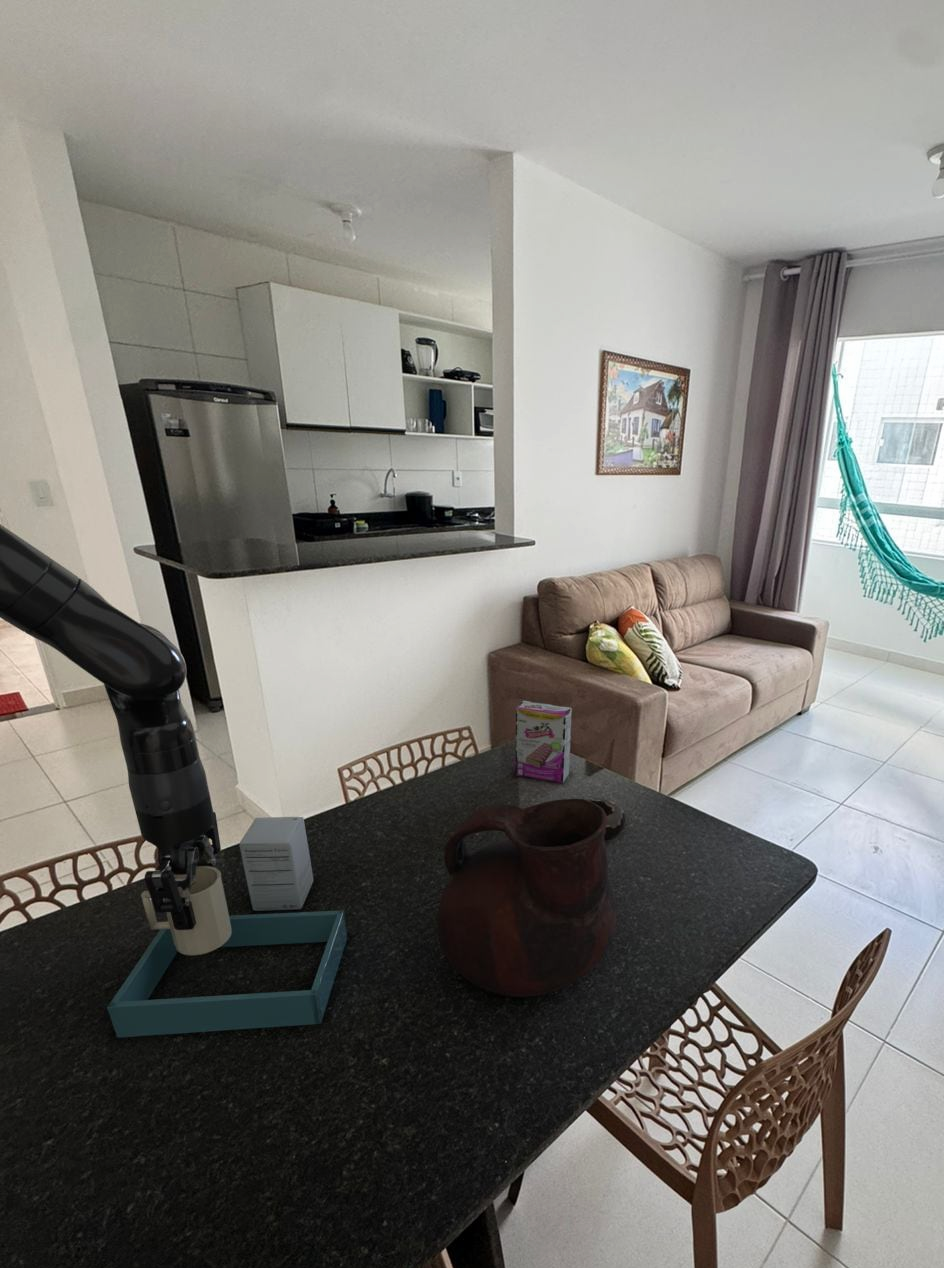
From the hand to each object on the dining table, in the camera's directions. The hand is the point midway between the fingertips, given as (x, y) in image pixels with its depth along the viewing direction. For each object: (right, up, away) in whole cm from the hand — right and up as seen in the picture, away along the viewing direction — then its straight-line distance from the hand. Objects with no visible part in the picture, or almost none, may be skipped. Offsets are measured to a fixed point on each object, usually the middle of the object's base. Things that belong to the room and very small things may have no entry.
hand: (197, 908), depth 84 cm
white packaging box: (+1, -4, +21) cm, 22 cm away
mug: (-2, -4, +2) cm, 5 cm away
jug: (+41, -10, +12) cm, 44 cm away
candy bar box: (+39, +12, +62) cm, 74 cm away
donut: (+50, +3, +44) cm, 67 cm away
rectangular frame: (+3, -11, +5) cm, 13 cm away
